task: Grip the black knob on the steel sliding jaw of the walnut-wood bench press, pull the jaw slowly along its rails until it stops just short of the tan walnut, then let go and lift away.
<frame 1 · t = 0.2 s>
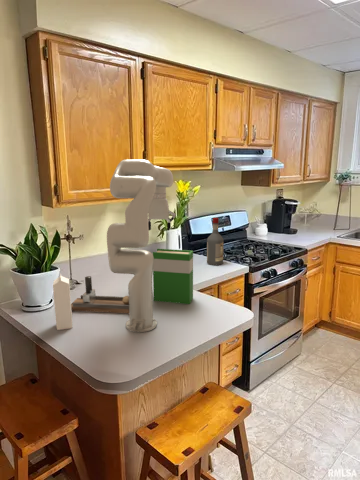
hand: (159, 230, 182), 31 cm above the worktop, tool pointing down, fingers open, 9 cm apart
walnut: (126, 300, 161), point 4 cm above the worktop, touching press base
press base: (106, 307, 163), on the worktop
hardback book: (173, 300, 172), on the worktop
milk: (64, 326, 145), on the worktop
liquor: (214, 263, 232), on the worktop
press jaw: (88, 289, 163), point 8 cm above the worktop, slide at 0.0 cm
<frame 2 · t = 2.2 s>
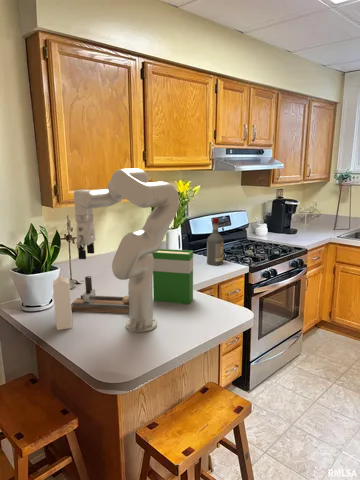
hand: (86, 256, 159), 24 cm above the worktop, tool pointing down, fingers open, 9 cm apart
nothing on the worktop moved.
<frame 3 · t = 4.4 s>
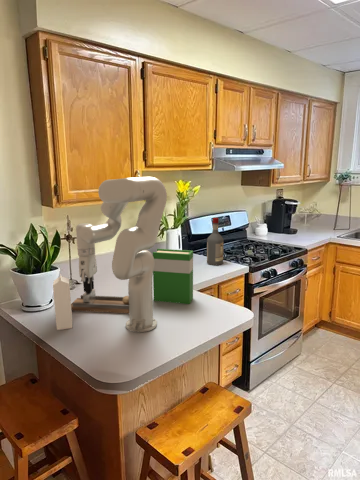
hand: (88, 289, 163), 8 cm above the worktop, tool pointing down, fingers closed on press jaw, 2 cm apart
press jaw: (88, 289, 163), point 8 cm above the worktop, slide at 0.0 cm, touching gripper
everything else where it was.
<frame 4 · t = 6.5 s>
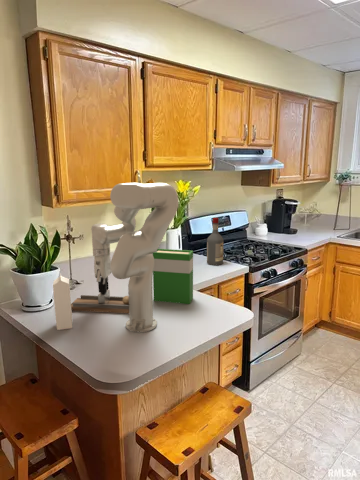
hand: (103, 290, 162), 8 cm above the worktop, tool pointing down, fingers closed on press jaw, 2 cm apart
press jaw: (103, 290, 162), point 8 cm above the worktop, slide at 7.0 cm, touching gripper
everything else where it was.
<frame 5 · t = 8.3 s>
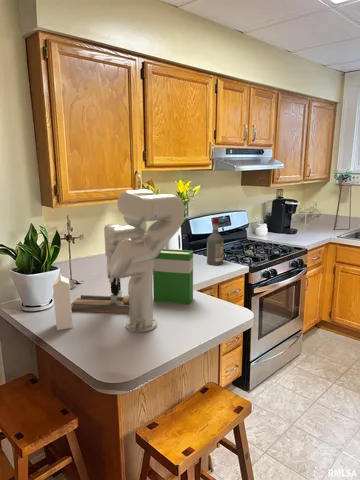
hand: (115, 291, 161), 8 cm above the worktop, tool pointing down, fingers closed on press jaw, 2 cm apart
press jaw: (115, 290, 161), point 8 cm above the worktop, slide at 12.7 cm, touching gripper
everything else where it was.
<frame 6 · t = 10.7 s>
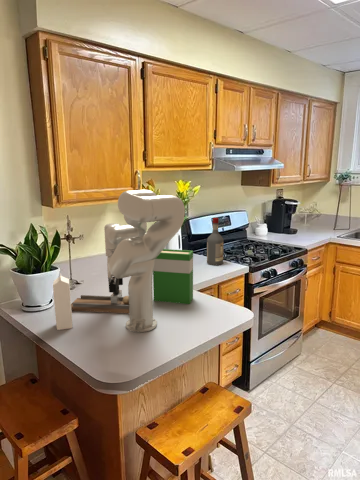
hand: (116, 288, 160), 10 cm above the worktop, tool pointing down, fingers open, 9 cm apart
press jaw: (116, 290, 161), point 8 cm above the worktop, slide at 12.8 cm
everything else where it was.
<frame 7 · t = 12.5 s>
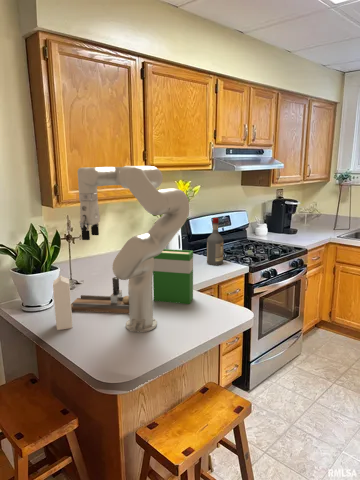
hand: (90, 237, 153), 34 cm above the worktop, tool pointing down, fingers open, 9 cm apart
nothing on the worktop moved.
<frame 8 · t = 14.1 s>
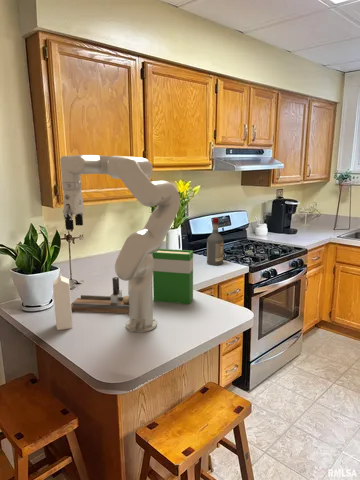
hand: (74, 227, 150), 38 cm above the worktop, tool pointing down, fingers open, 9 cm apart
nothing on the worktop moved.
at the end: press jaw slide at 12.8 cm; walnut moved 0.0 cm from its start; the gripper is holding nothing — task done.
